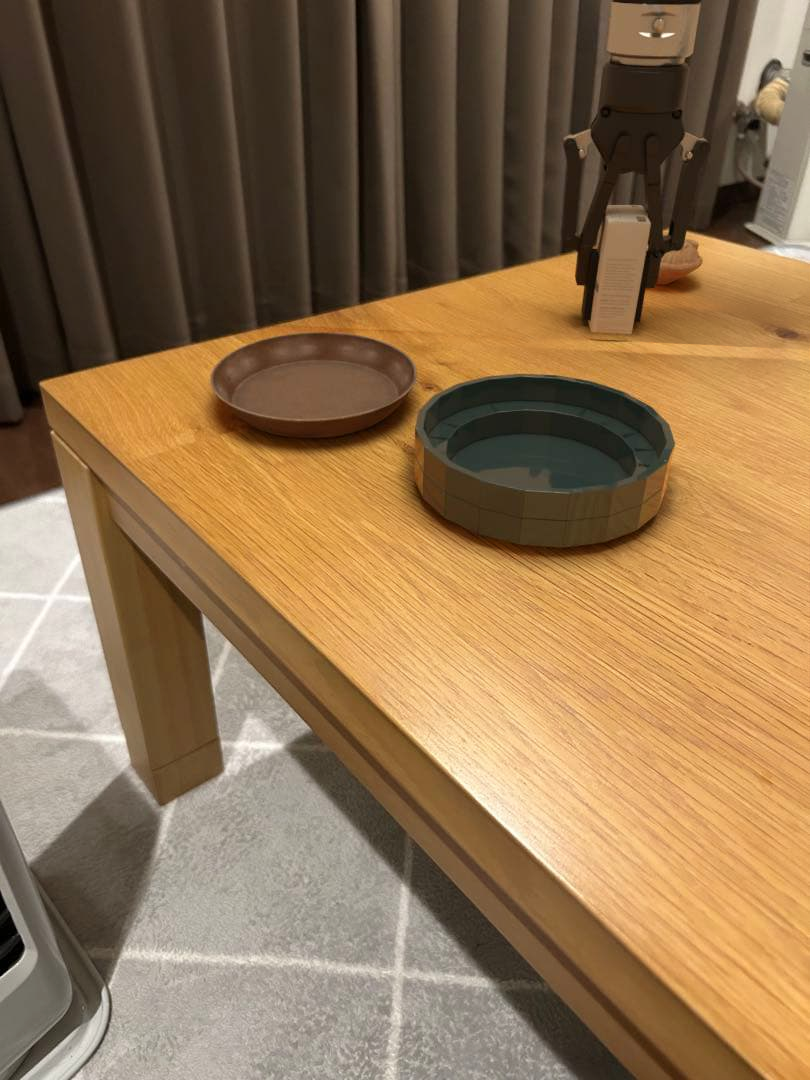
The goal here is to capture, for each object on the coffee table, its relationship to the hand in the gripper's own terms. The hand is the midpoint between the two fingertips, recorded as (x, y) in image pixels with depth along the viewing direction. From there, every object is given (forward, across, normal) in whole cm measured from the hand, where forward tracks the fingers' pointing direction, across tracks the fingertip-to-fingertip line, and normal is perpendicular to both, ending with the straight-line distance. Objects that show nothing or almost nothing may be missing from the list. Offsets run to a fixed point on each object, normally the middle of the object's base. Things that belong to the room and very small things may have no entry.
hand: (610, 316), depth 89 cm
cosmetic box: (+2, 0, 0) cm, 2 cm away
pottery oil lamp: (+2, +6, +18) cm, 19 cm away
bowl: (+2, -8, -32) cm, 33 cm away
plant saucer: (+2, -27, -20) cm, 34 cm away
